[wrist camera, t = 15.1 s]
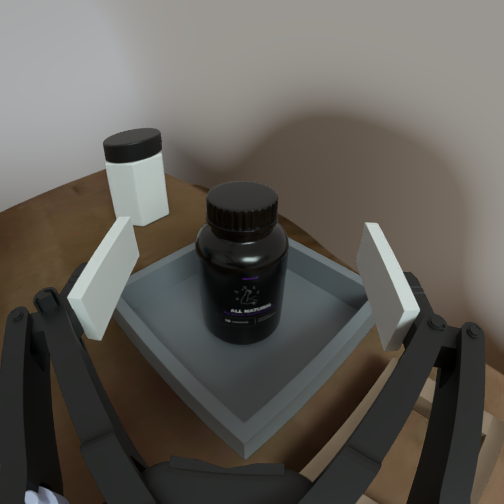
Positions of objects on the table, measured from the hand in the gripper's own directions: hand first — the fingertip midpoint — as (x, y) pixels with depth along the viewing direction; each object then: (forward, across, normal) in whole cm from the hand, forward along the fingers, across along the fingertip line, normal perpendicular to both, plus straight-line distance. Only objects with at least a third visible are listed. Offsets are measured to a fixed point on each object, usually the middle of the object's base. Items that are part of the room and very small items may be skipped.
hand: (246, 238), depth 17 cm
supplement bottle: (+4, 0, -12) cm, 13 cm away
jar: (+25, -17, -13) cm, 33 cm away
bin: (+4, 0, -12) cm, 13 cm away
